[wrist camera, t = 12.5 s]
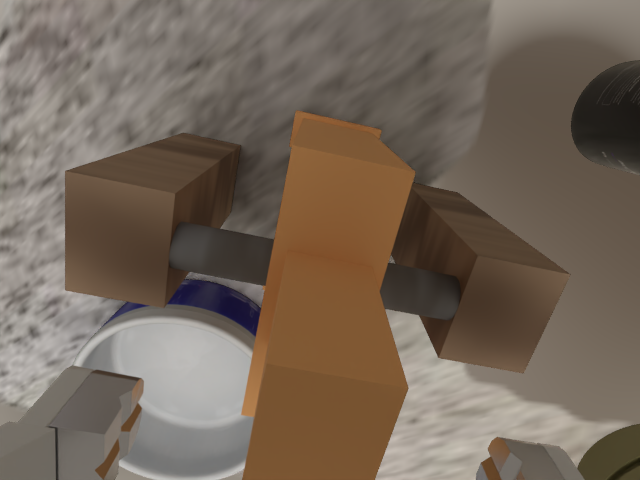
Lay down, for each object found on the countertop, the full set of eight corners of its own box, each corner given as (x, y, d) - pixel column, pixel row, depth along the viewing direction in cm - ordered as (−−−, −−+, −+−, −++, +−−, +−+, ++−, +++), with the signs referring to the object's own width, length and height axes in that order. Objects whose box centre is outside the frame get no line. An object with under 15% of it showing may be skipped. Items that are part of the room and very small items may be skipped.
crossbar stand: (183, 132, 28) (65, 170, 15) (457, 192, 30) (570, 274, 16) (176, 201, 30) (65, 290, 16) (436, 254, 31) (523, 373, 18)
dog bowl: (225, 451, 38) (210, 513, 33) (76, 372, 35) (30, 426, 29) (322, 341, 34) (324, 391, 29) (163, 240, 31) (129, 274, 25)
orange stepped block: (296, 110, 24) (244, 173, 7) (379, 128, 24) (523, 233, 7) (264, 282, 28) (181, 590, 11) (335, 296, 28) (362, 612, 11)
